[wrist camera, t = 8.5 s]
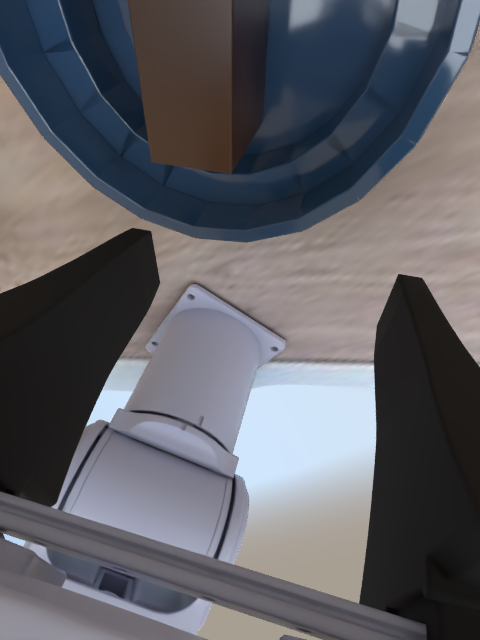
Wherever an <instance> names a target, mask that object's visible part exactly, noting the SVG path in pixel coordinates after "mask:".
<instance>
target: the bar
mask: <svg viewBox="0 0 480 640" xmlns="http://www.w3.org/2000/svg"><path fill="white" fill-rule="evenodd" d="M128 6H129V13H130V20H131V27H132V34H133V41H134V47H135V54H136V61H137V68H138V75H139V81H140V88H141V95H142V102H143V109H144V116H145V122H146V129H147V136H148V143H149V150H150V156H151V162H153V163H159V164H166V165H173V166H180V167H187V168H194V169H200V170H207V171H214V172H221V173H228V174H231V173H232V172H233V170H234V168H235V167H236V165H237V164H238V162H239V160H240V159H241V157H242V155H243V154H244V152H245V150H246V149H247V147H248V146H249V144H250V142H251V141H252V139H253V137H254V136H255V134H256V132H257V131H258V129H259V127H260V126H261V124H262V120H263V104H264V88H265V72H266V57H267V41H268V25H269V9H270V0H128Z"/></svg>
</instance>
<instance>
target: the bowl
mask: <svg viewBox="0 0 480 640" xmlns="http://www.w3.org/2000/svg"><path fill="white" fill-rule="evenodd" d="M479 22H480V0H270V9H269V25H268V41H267V57H266V72H265V88H264V104H263V120H262V124H261V126H260V127H259V129H258V131H257V132H256V134H255V136H254V137H253V139H252V141H251V142H250V144H249V146H248V147H247V149H246V150H245V152H244V154H243V155H242V157H241V159H240V160H239V162H238V164H237V165H236V167H235V168H234V170H233V172H232V173H231V174H228V173H221V172H214V171H207V170H200V169H194V168H187V167H180V166H173V165H166V164H159V163H153V162H151V156H150V150H149V143H148V136H147V129H146V122H145V116H144V109H143V102H142V95H141V88H140V81H139V75H138V68H137V61H136V54H135V47H134V41H133V34H132V27H131V20H130V13H129V6H128V0H0V75H1V77H2V78H3V80H4V81H5V83H6V84H7V86H8V87H9V88H10V90H11V91H12V93H13V94H14V96H15V97H16V99H17V100H18V102H19V103H20V105H21V106H22V107H23V109H24V110H25V112H26V113H27V115H28V116H29V118H30V119H31V121H32V122H33V124H34V125H35V126H36V128H37V129H38V131H39V132H40V134H41V135H42V136H44V139H45V140H46V141H47V142H48V143H49V144H50V145H51V146H52V147H53V148H54V149H55V150H56V151H57V152H58V153H59V154H60V155H61V156H62V157H63V158H64V159H65V160H66V161H67V162H68V163H69V164H70V165H71V166H72V167H73V168H74V169H75V170H76V171H77V172H78V173H79V174H80V175H81V176H82V177H83V178H84V179H85V180H86V181H87V182H88V183H89V184H90V185H92V187H94V188H95V189H97V190H98V191H100V192H101V193H103V194H104V195H106V196H107V197H109V198H110V199H112V200H114V201H115V202H117V203H118V204H120V205H121V206H123V207H124V208H126V209H127V210H129V211H130V212H132V213H133V214H135V215H136V216H138V217H140V218H141V219H144V220H146V221H149V222H152V223H155V224H157V225H160V226H163V227H166V228H168V229H171V230H174V231H177V232H180V233H182V234H185V235H188V236H191V237H195V238H200V239H212V240H224V241H236V242H252V241H257V240H262V239H267V238H272V237H277V236H282V235H287V234H291V233H296V232H301V231H303V230H306V229H308V228H310V227H312V226H313V225H315V224H317V223H319V222H321V221H323V220H325V219H326V218H328V217H330V216H332V215H334V214H336V213H338V212H339V211H341V210H343V209H345V208H347V207H349V206H350V205H352V204H354V203H356V202H358V201H359V200H360V199H362V198H363V197H364V196H365V195H366V194H367V193H368V192H369V191H370V190H371V189H372V188H373V187H374V186H375V185H376V184H377V183H378V182H379V181H381V180H382V179H383V178H384V177H385V176H386V175H387V174H388V173H389V172H390V171H391V170H392V169H393V168H394V167H395V166H396V165H397V164H398V163H399V162H400V161H401V160H402V159H403V158H404V157H405V156H406V155H407V154H408V153H409V152H410V151H411V150H412V149H413V148H414V147H415V146H416V143H418V142H419V141H420V139H421V137H422V136H423V134H424V132H425V130H426V129H427V127H428V125H429V124H430V122H431V120H432V119H433V117H434V115H435V113H436V112H437V110H438V108H439V107H440V105H441V103H442V101H443V100H444V98H445V96H446V95H447V93H448V91H449V90H450V88H451V86H452V84H453V83H454V81H455V79H456V78H457V76H458V74H459V73H460V71H461V69H462V67H463V66H464V64H465V62H466V61H467V59H468V56H469V55H468V54H469V53H470V52H471V50H472V46H473V43H474V39H475V36H476V33H477V29H478V26H479Z"/></svg>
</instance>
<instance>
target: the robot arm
mask: <svg viewBox="0 0 480 640" xmlns="http://www.w3.org/2000/svg"><path fill="white" fill-rule="evenodd" d="M159 285H160V280H159V274H158V268H157V262H156V256H155V251H154V245H153V239H152V233H151V231H147V230H141V229H136V228H131V229H129V230H127V231H125V232H123V233H121V234H119V235H118V236H116V237H114V238H112V239H110V240H109V241H107V242H105V243H103V244H101V245H100V246H98V247H96V248H94V249H93V250H91V251H89V252H87V253H85V254H84V255H82V256H80V257H78V258H76V259H75V260H73V261H71V262H69V263H67V264H65V265H63V266H61V267H59V268H57V269H55V270H53V271H51V272H49V273H47V274H45V275H43V276H41V277H39V278H37V279H35V280H32V281H30V282H28V283H25V284H23V285H21V286H18V287H16V288H13V289H11V290H8V291H6V292H3V293H1V294H0V640H207V639H204V638H202V637H199V636H197V633H198V630H199V629H201V628H202V627H203V626H204V623H205V621H206V618H207V616H208V613H209V611H210V608H211V607H212V604H213V603H215V604H217V605H221V606H224V607H227V608H229V609H233V610H235V611H239V612H242V613H244V614H248V615H250V616H254V617H256V618H259V619H263V620H266V621H269V622H272V623H275V624H278V625H281V626H284V627H287V628H290V629H293V630H296V631H299V632H302V633H305V634H308V635H311V636H314V637H317V638H320V639H323V640H480V367H479V366H478V364H477V363H476V362H475V360H474V359H473V358H472V356H471V355H470V354H469V352H468V351H467V350H466V348H465V347H464V345H463V344H462V342H461V341H460V339H459V338H458V336H457V335H456V333H455V332H454V330H453V329H452V327H451V326H450V324H449V322H448V321H447V319H446V317H445V316H444V314H443V313H442V311H441V309H440V307H439V306H438V304H437V302H436V301H435V299H434V297H433V295H432V294H431V292H430V290H429V289H428V287H427V285H426V283H425V282H424V280H423V279H422V278H419V277H413V276H407V275H402V274H398V277H397V279H396V281H395V284H394V286H393V289H392V291H391V293H390V296H389V298H388V301H387V303H386V305H385V308H384V310H383V313H382V315H381V317H380V320H379V322H378V325H377V331H376V341H375V351H374V373H375V400H376V423H377V424H376V425H377V426H376V428H377V429H376V454H375V466H374V479H373V490H372V502H371V512H370V521H369V531H368V540H367V548H366V556H365V565H364V572H363V581H362V588H361V595H360V602H359V604H358V603H355V602H351V601H348V600H345V599H342V598H339V597H336V596H333V595H329V594H326V593H323V592H320V591H317V590H313V589H310V588H307V587H304V586H301V585H297V584H294V583H291V582H288V581H285V580H281V579H278V578H275V577H272V576H269V575H265V574H262V573H259V572H256V571H252V570H249V569H246V568H243V567H240V566H237V565H234V564H235V561H236V559H237V556H238V553H239V550H240V547H241V544H242V540H243V537H244V533H245V528H246V523H247V518H248V511H249V495H248V492H247V489H246V486H245V482H244V479H243V478H242V477H240V476H238V475H236V474H235V470H236V467H237V463H238V459H239V458H238V457H237V456H235V455H233V450H234V446H235V443H236V440H237V436H238V433H239V429H240V426H241V422H242V419H243V415H244V412H245V408H246V405H247V401H248V398H249V394H250V391H251V387H252V384H253V380H254V377H255V373H256V370H257V369H258V368H259V367H261V366H262V365H263V364H265V363H266V362H267V361H269V360H270V359H271V358H273V357H274V356H275V355H277V354H278V353H279V352H281V351H282V350H283V349H284V348H285V346H286V341H285V340H284V339H282V338H281V337H279V336H278V335H276V334H275V333H273V332H271V331H270V330H268V329H267V328H265V327H263V326H262V325H260V324H259V323H257V322H256V321H254V320H252V319H251V318H249V317H248V316H246V315H245V314H243V313H241V312H240V311H238V310H237V309H235V308H234V307H232V306H230V305H229V304H227V303H226V302H224V301H222V300H221V299H219V298H218V297H216V296H215V295H213V294H211V293H210V292H208V291H207V290H205V289H204V288H202V287H200V286H199V285H197V284H191V285H190V286H189V287H188V288H187V289H186V291H185V292H184V294H183V295H182V296H181V298H180V299H179V300H178V302H177V303H176V304H175V306H174V307H173V309H172V310H171V311H170V313H169V314H168V315H167V317H166V318H165V319H164V321H163V322H162V324H161V325H160V326H159V328H158V329H157V330H156V332H155V333H154V334H153V336H152V337H151V338H150V340H149V341H148V343H147V344H146V346H145V348H146V350H147V351H149V352H150V353H152V354H153V356H152V358H151V360H150V361H149V363H148V365H147V367H146V369H145V371H144V373H143V374H142V376H141V378H140V380H139V382H138V384H137V386H136V388H135V389H134V391H133V393H132V395H131V397H130V399H129V401H128V403H127V404H126V406H125V408H124V410H123V409H120V408H119V409H118V410H117V412H116V414H115V415H114V417H113V419H112V421H111V422H110V423H109V422H106V421H104V420H98V421H96V422H95V423H93V424H91V425H88V426H86V424H87V422H88V420H89V417H90V415H91V412H92V411H93V408H94V406H95V404H96V401H97V399H98V397H99V395H100V393H101V391H102V389H103V387H104V385H105V382H106V380H107V378H108V376H109V374H110V373H111V371H112V369H113V367H114V365H115V364H116V362H117V360H118V359H119V357H120V356H121V354H122V352H123V351H124V349H125V348H126V346H127V344H128V343H129V341H130V340H131V338H132V336H133V335H134V333H135V332H136V330H137V328H138V327H139V325H140V323H141V322H142V320H143V318H144V317H145V315H146V313H147V312H148V310H149V308H150V306H151V304H152V301H153V299H154V297H155V294H156V292H157V289H158V287H159ZM190 294H191V295H193V296H191V295H190ZM85 426H86V427H85ZM3 533H4V534H7V535H10V536H13V537H16V538H19V539H22V540H25V541H26V542H25V545H24V547H22V546H20V545H17V544H15V543H12V542H10V541H7V540H5V538H4V535H3ZM280 640H305V639H301V638H297V637H293V636H288V635H283V636H282V637H281V638H280Z"/></svg>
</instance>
